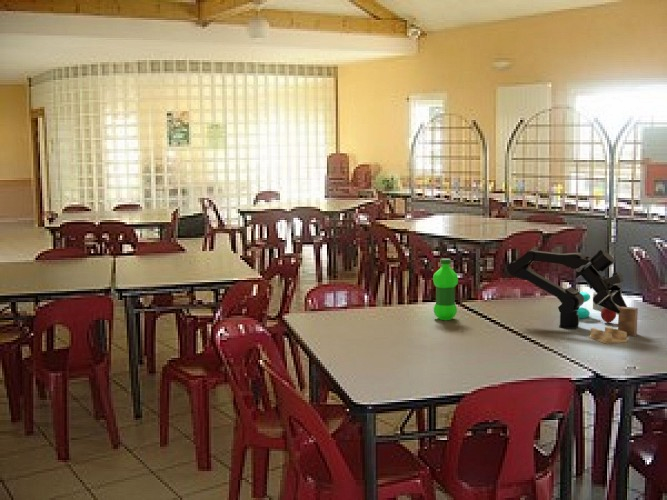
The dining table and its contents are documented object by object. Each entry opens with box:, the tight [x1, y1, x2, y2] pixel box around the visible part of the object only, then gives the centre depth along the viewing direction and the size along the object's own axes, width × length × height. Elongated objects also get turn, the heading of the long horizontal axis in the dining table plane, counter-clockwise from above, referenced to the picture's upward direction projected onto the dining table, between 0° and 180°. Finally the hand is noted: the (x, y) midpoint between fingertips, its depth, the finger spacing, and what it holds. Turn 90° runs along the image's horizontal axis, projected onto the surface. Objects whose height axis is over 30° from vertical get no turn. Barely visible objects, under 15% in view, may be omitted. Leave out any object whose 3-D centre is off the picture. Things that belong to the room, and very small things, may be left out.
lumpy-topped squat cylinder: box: [592, 291, 623, 312], centre depth 347 cm, size 10×13×9 cm
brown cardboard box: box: [617, 306, 639, 337], centre depth 299 cm, size 6×4×10 cm, turn 54°
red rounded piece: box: [600, 307, 617, 324], centre depth 318 cm, size 6×6×8 cm
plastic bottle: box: [432, 257, 459, 321], centre depth 327 cm, size 10×10×25 cm
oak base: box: [588, 326, 629, 345], centre depth 291 cm, size 10×9×4 cm
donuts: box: [576, 291, 591, 319], centre depth 331 cm, size 10×10×10 cm
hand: (623, 310), depth 300 cm, fingers open, 9 cm apart
